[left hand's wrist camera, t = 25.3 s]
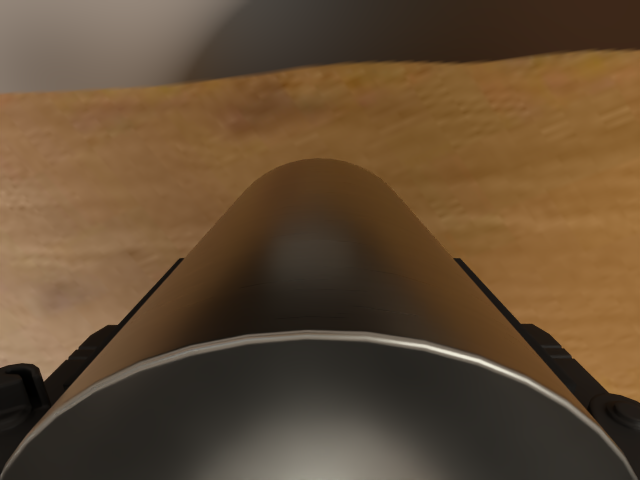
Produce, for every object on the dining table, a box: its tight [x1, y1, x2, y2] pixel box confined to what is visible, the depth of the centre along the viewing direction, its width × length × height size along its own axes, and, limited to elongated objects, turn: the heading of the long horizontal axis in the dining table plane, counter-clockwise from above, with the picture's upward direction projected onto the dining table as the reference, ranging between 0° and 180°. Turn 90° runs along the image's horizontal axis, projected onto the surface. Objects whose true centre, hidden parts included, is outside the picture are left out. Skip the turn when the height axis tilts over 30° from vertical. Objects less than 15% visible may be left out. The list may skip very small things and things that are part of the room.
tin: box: [0, 159, 638, 480], centre depth 11 cm, size 9×9×13 cm
